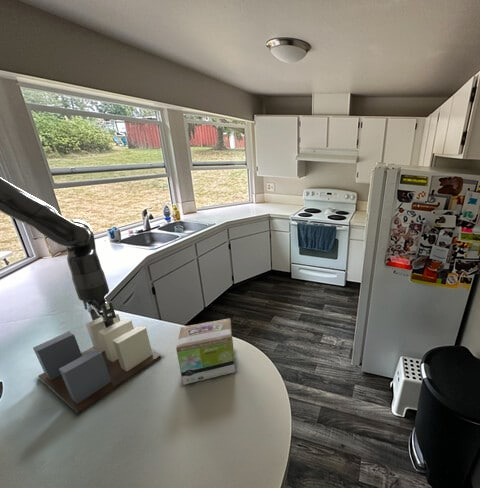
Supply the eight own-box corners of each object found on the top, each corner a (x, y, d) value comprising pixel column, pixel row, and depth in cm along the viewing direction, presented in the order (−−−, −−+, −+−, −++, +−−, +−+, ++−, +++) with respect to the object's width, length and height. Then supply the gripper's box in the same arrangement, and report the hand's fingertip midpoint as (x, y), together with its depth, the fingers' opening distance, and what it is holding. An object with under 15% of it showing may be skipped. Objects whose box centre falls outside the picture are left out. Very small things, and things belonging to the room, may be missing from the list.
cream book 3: (126, 371, 78) (117, 343, 74) (121, 368, 79) (112, 340, 75) (152, 354, 84) (146, 328, 81) (147, 351, 86) (140, 325, 82)
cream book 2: (112, 362, 81) (103, 334, 77) (107, 358, 82) (98, 331, 78) (138, 346, 88) (131, 320, 84) (133, 343, 89) (126, 317, 85)
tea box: (183, 387, 75) (174, 348, 70) (186, 362, 83) (179, 325, 78) (235, 373, 80) (231, 335, 75) (234, 351, 89) (230, 316, 84)
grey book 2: (77, 404, 68) (64, 373, 64) (71, 399, 69) (58, 368, 65) (111, 381, 74) (101, 352, 71) (106, 377, 76) (96, 348, 72)
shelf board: (78, 414, 66) (77, 411, 66) (39, 378, 76) (37, 375, 75) (161, 358, 85) (160, 355, 84) (121, 335, 94) (120, 332, 94)
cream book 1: (99, 353, 84) (90, 326, 80) (94, 350, 85) (85, 323, 82) (125, 338, 91) (118, 313, 87) (121, 336, 92) (113, 311, 88)
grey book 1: (50, 380, 74) (37, 351, 70) (46, 376, 75) (32, 347, 71) (84, 361, 81) (73, 334, 77) (79, 358, 82) (69, 331, 78)
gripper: (64, 282, 79) (79, 324, 85) (87, 293, 74) (102, 338, 79) (93, 272, 86) (105, 312, 91) (116, 283, 80) (128, 324, 86)
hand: (104, 324), depth 85 cm, fingers open, 8 cm apart
